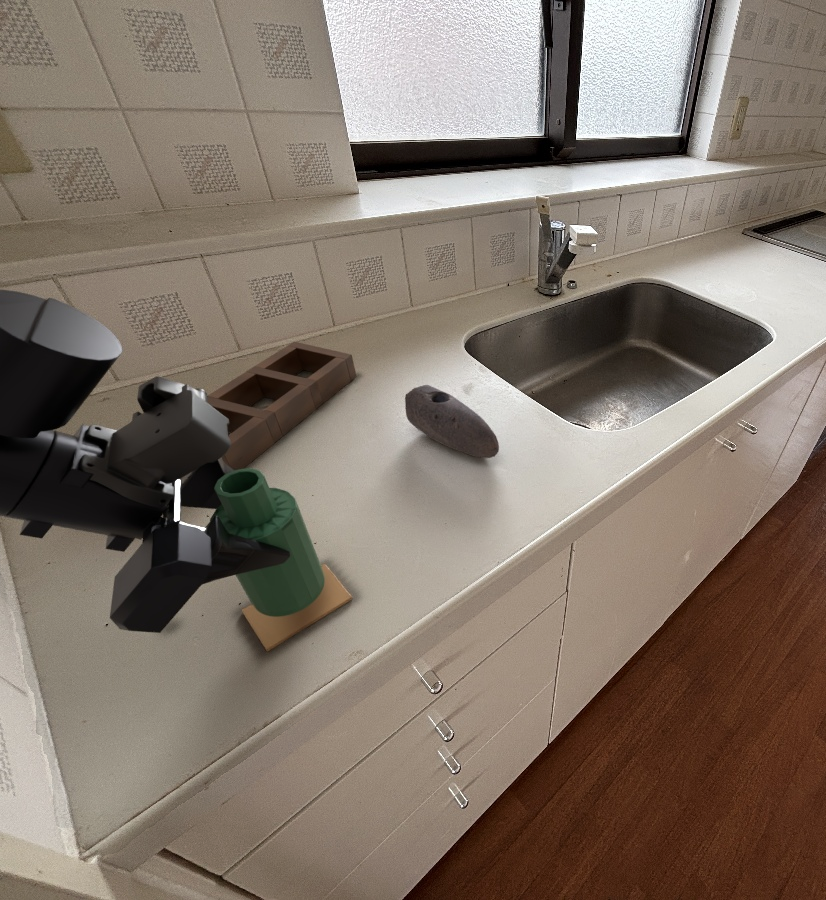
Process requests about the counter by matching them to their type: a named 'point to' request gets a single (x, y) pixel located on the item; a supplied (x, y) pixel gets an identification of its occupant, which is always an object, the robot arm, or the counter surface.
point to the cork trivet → (297, 614)
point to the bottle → (271, 542)
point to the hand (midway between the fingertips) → (283, 531)
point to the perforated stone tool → (450, 422)
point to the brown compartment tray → (278, 397)
